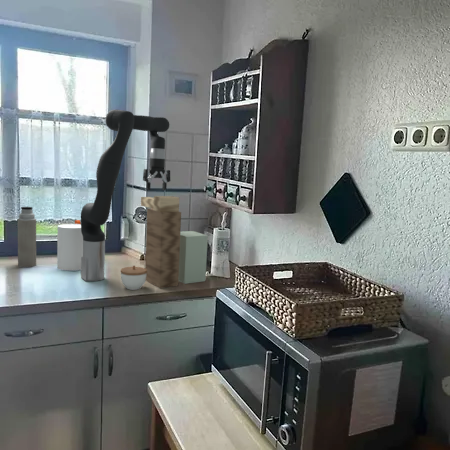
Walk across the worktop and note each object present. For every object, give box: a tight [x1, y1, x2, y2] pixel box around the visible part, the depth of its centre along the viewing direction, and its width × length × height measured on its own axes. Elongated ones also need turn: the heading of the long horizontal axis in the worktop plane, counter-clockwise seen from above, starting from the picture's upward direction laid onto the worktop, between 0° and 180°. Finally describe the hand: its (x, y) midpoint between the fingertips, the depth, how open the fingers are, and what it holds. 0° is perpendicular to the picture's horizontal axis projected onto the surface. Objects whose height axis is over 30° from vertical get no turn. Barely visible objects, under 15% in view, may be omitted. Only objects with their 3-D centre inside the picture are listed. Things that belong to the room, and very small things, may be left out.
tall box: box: [144, 208, 182, 289], centre depth 195 cm, size 9×14×32 cm, turn 35°
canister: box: [56, 223, 83, 271], centre depth 214 cm, size 14×14×20 cm
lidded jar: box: [120, 265, 147, 291], centre depth 187 cm, size 11×11×9 cm
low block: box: [178, 230, 209, 285], centre depth 204 cm, size 11×13×21 cm
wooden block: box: [140, 195, 180, 212], centre depth 198 cm, size 24×9×6 cm, turn 35°
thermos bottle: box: [17, 206, 37, 268], centre depth 212 cm, size 8×8×28 cm
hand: (156, 190), depth 228 cm, fingers open, 8 cm apart
